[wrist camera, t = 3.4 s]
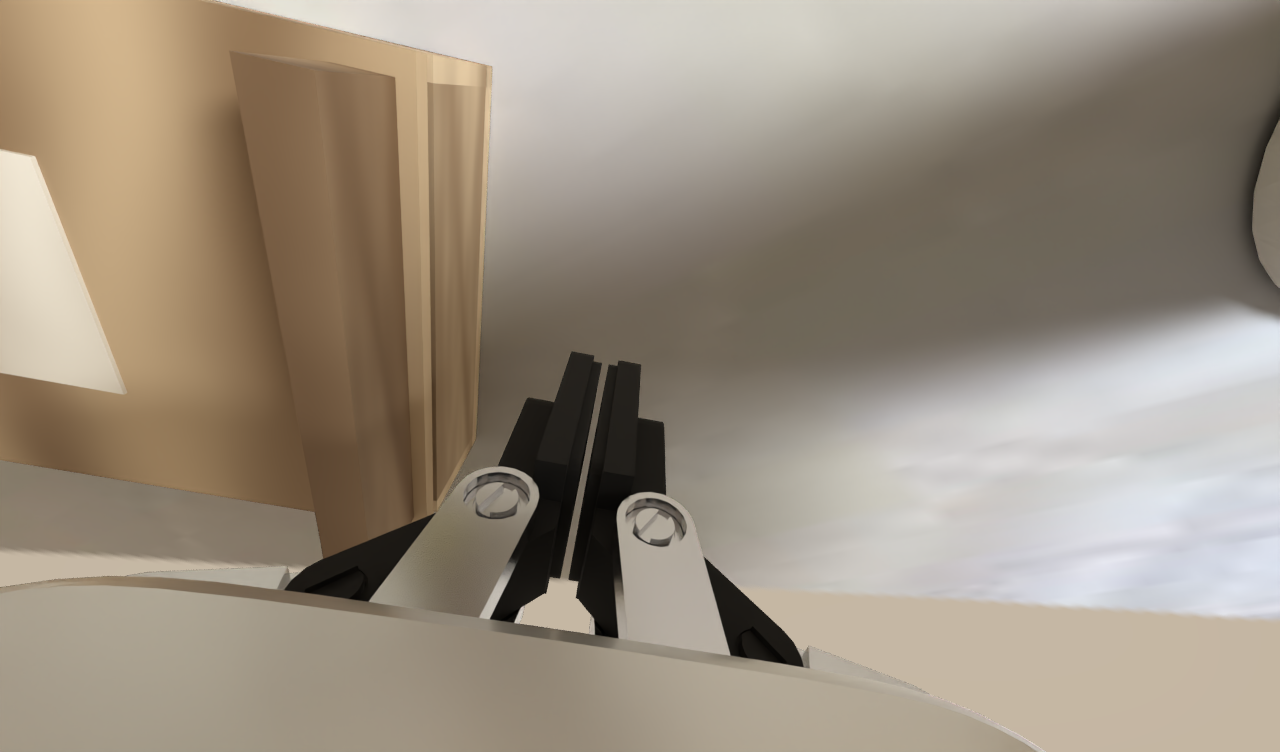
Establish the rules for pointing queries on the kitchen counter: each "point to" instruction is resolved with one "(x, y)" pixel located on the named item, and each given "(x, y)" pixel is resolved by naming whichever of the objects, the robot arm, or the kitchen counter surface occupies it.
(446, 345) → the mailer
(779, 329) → the kitchen counter surface
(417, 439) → the lid
